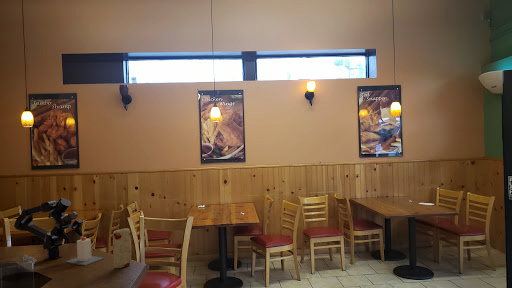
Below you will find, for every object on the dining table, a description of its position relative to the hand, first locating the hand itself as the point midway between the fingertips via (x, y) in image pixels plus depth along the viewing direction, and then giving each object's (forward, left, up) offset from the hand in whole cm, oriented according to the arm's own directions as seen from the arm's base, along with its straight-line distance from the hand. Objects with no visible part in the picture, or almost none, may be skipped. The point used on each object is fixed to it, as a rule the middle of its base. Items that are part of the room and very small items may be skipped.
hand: (75, 238), depth 210 cm
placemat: (+6, +1, -12) cm, 14 cm away
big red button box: (+6, +1, -12) cm, 13 cm away
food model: (+35, +1, -13) cm, 37 cm away
